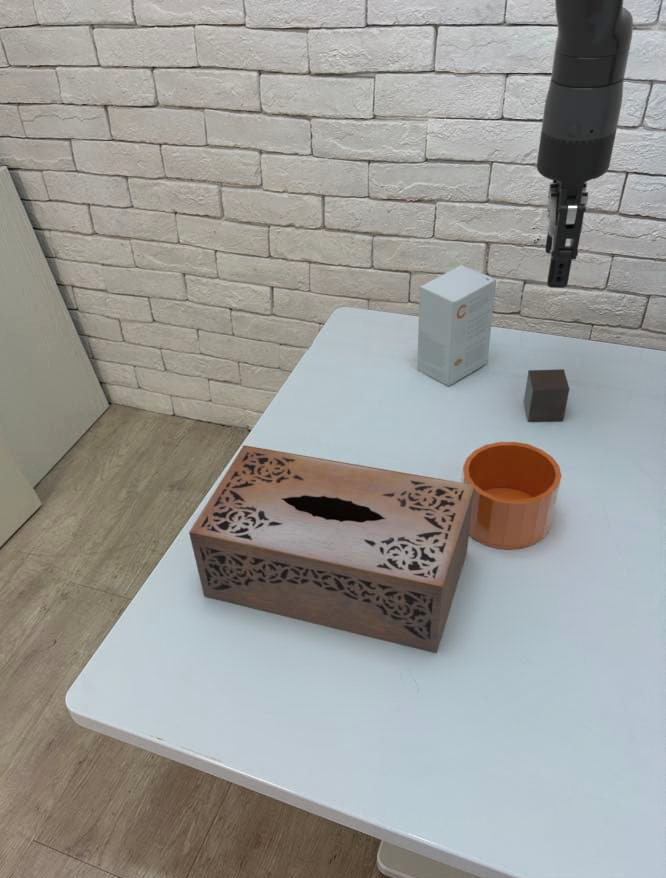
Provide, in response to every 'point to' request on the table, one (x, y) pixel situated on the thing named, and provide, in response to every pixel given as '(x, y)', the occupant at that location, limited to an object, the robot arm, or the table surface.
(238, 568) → the tissue box cover
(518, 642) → the table surface
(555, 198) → the robot arm
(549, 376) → the walnut block
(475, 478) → the round open container
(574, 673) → the table surface
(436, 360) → the small box
